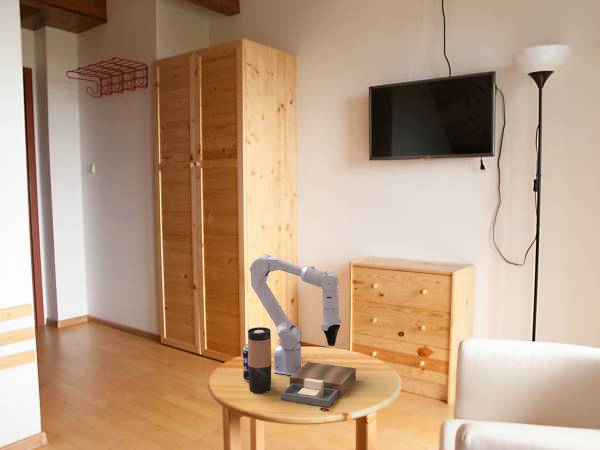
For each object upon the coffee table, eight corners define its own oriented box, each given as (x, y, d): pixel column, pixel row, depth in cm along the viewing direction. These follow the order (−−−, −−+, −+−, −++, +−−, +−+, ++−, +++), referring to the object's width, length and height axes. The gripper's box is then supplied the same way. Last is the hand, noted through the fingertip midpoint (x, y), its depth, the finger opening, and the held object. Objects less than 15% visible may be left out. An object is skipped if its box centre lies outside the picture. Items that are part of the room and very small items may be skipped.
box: (280, 400, 161) (280, 393, 161) (292, 389, 169) (292, 383, 169) (328, 407, 155) (328, 400, 154) (338, 396, 163) (338, 389, 163)
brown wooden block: (289, 388, 170) (289, 377, 169) (307, 372, 184) (307, 361, 184) (341, 396, 163) (341, 384, 162) (355, 379, 177) (355, 368, 177)
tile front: (302, 387, 164) (302, 393, 164) (297, 393, 160) (297, 399, 160) (320, 390, 162) (320, 396, 162) (315, 395, 158) (315, 402, 158)
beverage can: (243, 376, 181) (243, 343, 180) (259, 376, 182) (259, 343, 181) (243, 382, 176) (242, 348, 175) (259, 382, 176) (259, 347, 175)
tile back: (306, 391, 166) (304, 393, 164) (306, 378, 166) (303, 380, 164) (323, 394, 164) (321, 396, 162) (323, 380, 163) (321, 382, 162)
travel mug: (275, 386, 172) (274, 328, 170) (266, 395, 165) (265, 334, 163) (254, 383, 174) (253, 326, 173) (244, 392, 167) (243, 332, 166)
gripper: (334, 313, 173) (335, 352, 174) (347, 304, 187) (348, 340, 187) (315, 311, 176) (316, 350, 177) (329, 303, 189) (330, 338, 190)
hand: (331, 345), depth 182 cm, fingers closed
